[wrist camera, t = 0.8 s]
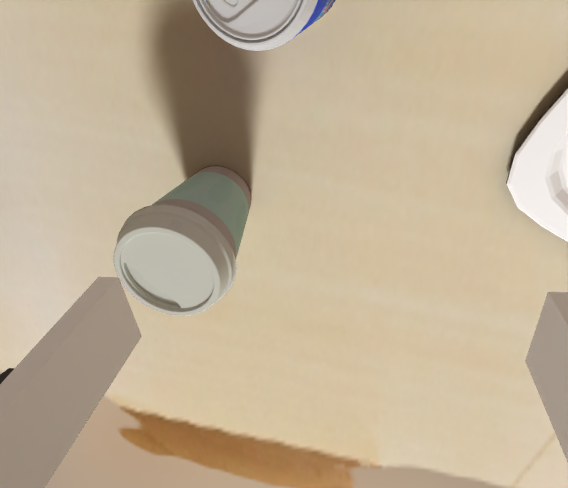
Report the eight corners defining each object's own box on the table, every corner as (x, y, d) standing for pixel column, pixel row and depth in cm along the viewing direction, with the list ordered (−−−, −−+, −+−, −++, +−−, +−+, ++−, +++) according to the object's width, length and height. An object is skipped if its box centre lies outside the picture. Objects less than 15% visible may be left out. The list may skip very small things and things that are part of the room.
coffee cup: (161, 158, 36) (83, 226, 26) (252, 143, 33) (204, 211, 23) (193, 239, 40) (136, 324, 30) (275, 231, 38) (243, 319, 28)
